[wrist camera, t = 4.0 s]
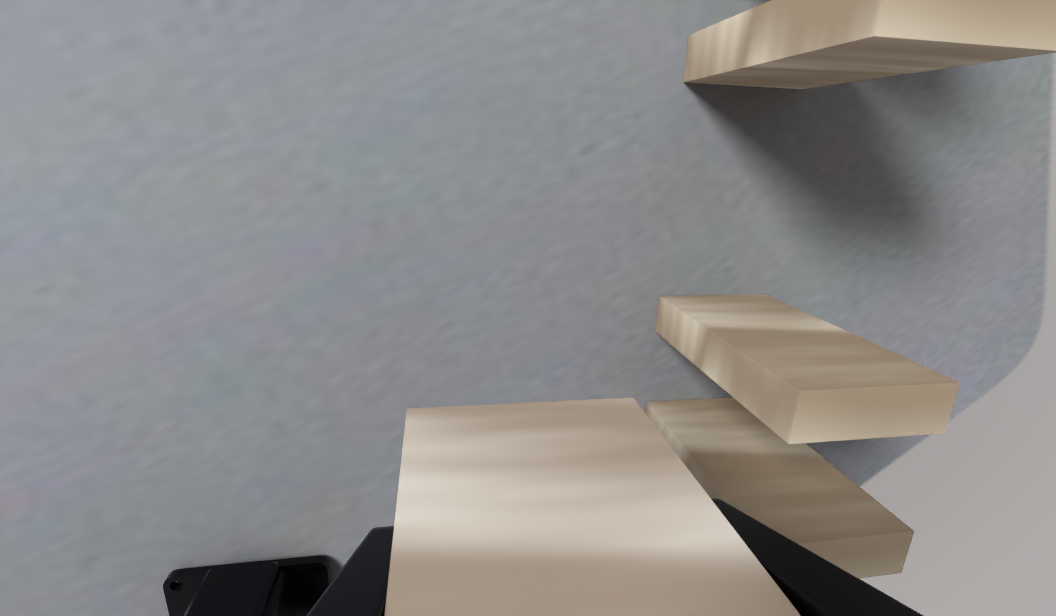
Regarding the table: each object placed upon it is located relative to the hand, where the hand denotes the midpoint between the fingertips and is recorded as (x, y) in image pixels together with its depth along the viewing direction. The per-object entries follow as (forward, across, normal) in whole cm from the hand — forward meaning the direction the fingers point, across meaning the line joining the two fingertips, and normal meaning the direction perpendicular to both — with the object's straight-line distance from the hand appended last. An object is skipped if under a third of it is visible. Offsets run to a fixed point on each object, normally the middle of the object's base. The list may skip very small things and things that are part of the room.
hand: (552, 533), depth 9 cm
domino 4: (+13, -10, -9) cm, 19 cm away
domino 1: (+13, -10, +6) cm, 17 cm away
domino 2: (+13, -10, 0) cm, 16 cm away
